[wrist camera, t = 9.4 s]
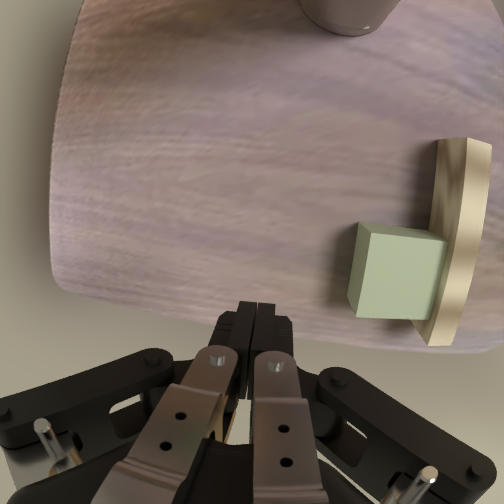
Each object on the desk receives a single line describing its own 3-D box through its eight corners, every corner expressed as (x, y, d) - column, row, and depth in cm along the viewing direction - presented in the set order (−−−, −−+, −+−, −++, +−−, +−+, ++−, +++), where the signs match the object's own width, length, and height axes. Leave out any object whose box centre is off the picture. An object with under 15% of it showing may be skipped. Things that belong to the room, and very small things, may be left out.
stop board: (437, 139, 27) (467, 137, 21) (460, 145, 26) (491, 145, 21) (408, 318, 33) (427, 345, 27) (430, 318, 32) (450, 345, 27)
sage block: (358, 221, 30) (371, 232, 26) (427, 229, 30) (448, 241, 25) (346, 295, 33) (355, 317, 28) (412, 299, 32) (428, 319, 27)
